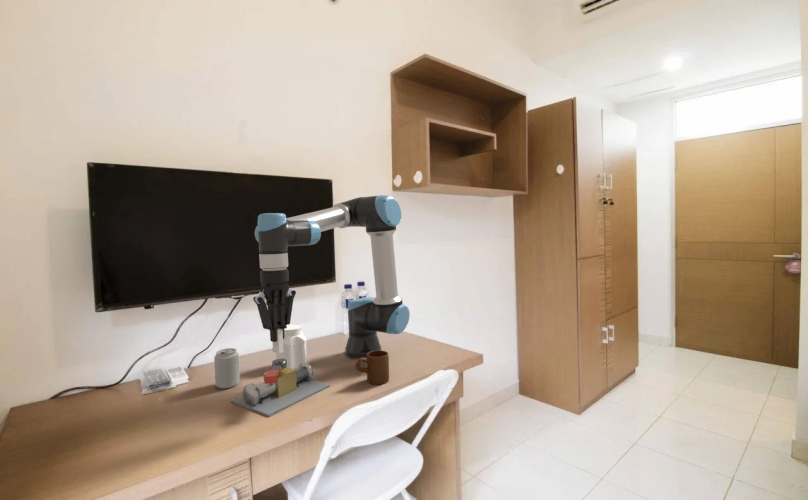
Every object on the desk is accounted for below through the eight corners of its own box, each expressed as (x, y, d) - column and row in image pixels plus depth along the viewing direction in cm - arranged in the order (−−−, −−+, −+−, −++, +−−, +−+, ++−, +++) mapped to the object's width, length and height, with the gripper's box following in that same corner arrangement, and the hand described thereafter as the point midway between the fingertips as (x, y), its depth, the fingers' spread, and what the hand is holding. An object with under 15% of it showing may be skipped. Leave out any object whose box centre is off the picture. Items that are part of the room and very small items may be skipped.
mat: (293, 375, 137) (293, 374, 137) (330, 386, 127) (330, 384, 127) (231, 402, 117) (231, 400, 117) (269, 416, 107) (268, 414, 107)
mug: (361, 390, 123) (360, 361, 123) (351, 382, 130) (350, 355, 129) (393, 381, 129) (392, 354, 129) (382, 374, 136) (382, 348, 135)
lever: (274, 365, 124) (273, 359, 124) (288, 364, 124) (287, 358, 124) (262, 383, 109) (261, 377, 108) (278, 382, 109) (277, 376, 109)
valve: (300, 379, 133) (299, 356, 133) (314, 383, 130) (313, 359, 129) (242, 404, 115) (241, 377, 114) (257, 410, 111) (255, 382, 110)
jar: (282, 372, 140) (281, 332, 139) (272, 366, 147) (270, 327, 146) (311, 364, 147) (310, 326, 147) (300, 358, 155) (299, 322, 154)
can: (212, 385, 129) (210, 351, 129) (234, 379, 135) (232, 345, 134) (221, 391, 124) (219, 355, 124) (243, 384, 130) (242, 350, 129)
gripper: (284, 266, 114) (287, 343, 115) (245, 270, 103) (249, 356, 104) (301, 266, 110) (305, 347, 111) (262, 272, 99) (267, 361, 100)
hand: (278, 351), depth 108 cm, fingers closed
